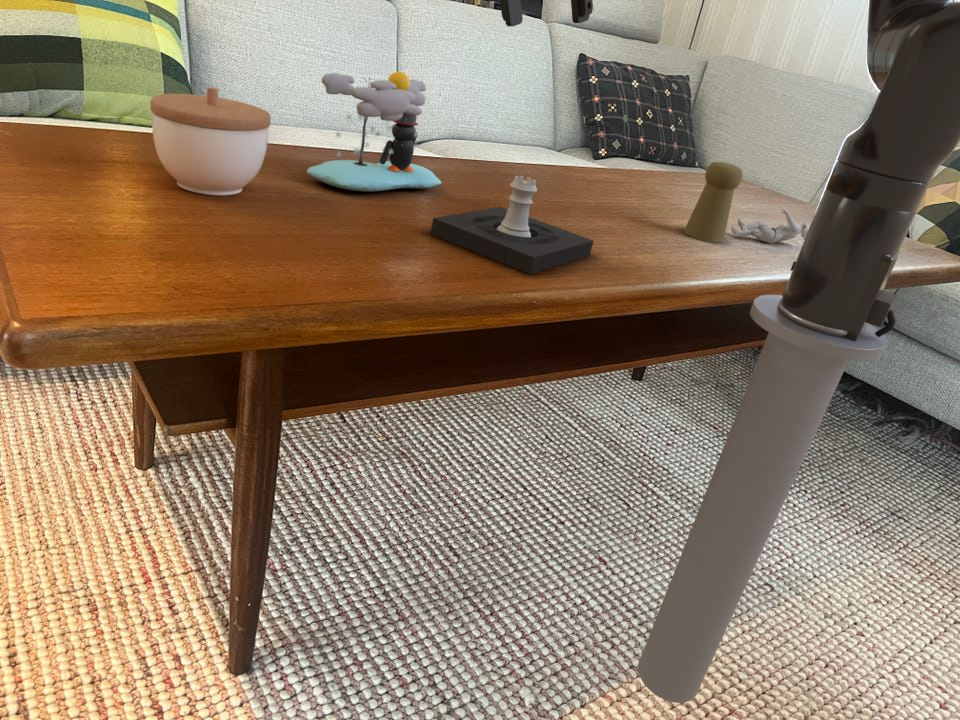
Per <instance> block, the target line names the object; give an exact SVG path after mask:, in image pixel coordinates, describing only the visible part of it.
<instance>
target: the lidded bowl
mask: <svg viewBox="0 0 960 720" xmlns="http://www.w3.org/2000/svg"><path fill="white" fill-rule="evenodd" d="M149 102H150V103H149V104H150V105H149V106H150V111H151V129H152V138H153V144H154V147H155V152H156V154H157V156H158V159H159V161H160V163H161V165H162V167H163V168H164V169H165V171H166V172H167V173H168V174H169V175H170V176H171V177H172V178H173V179H174V180H175V181H176V185H177V186H178V187H179V188H181V189H183V190H185V191H189V192H192V193H195V194H196V193H197V194H202V195H209V196H233V195H238V194H240V193H242V192H243V188H244V187H245V186H247V185H248V184H250V183H251V182H252V181H253V180H254V179H255V178H256V176H257V175H258V174H259V173H260V171H261V169H262V168H263V167H262V166H263V164H264V161H265V158H266V155H267V149H268V143H269V133H270V132H269V130H270V127H271V119H272V116H271V114H270V112H268V111H266V110H265V109H263V108H261V107H258V106H256V105H253V104H249V103H245V102H241V101H237V100H233V99H228V98H223V97H219V88H218V87H213V86H206V95H203V94H202V95H201V94H190V93H162V94H157V95H153V96H152V97H151V98H150V100H149Z"/></svg>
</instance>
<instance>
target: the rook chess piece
mask: <svg viewBox="0 0 960 720" xmlns="http://www.w3.org/2000/svg"><path fill="white" fill-rule="evenodd" d="M524 179H525V177H524V176H523V175H519V176H518V175H516V176H514V177H513V180H512V182H511V183H509V188H510V189H511V195H510V196H509V197H508V200H509V203H508V208H507V209H508V211H507V213H506V216H505V218H504V220H503V221H502V222H501V225H500V226H499V227H497V230H498V231H501V232H503V233H506V234H510V235H514V236H519V237H531V233H530V232H529V227H528V217H530V216H529V215H530V208H531V205H532V204H533V200H532V198H533V196H534V195H535V194H536V193H537V192H538V188H537V185H536V182H537V180H536V179H532V178H531V177H526V180H524Z"/></svg>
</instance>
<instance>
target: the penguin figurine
mask: <svg viewBox="0 0 960 720" xmlns="http://www.w3.org/2000/svg"><path fill="white" fill-rule="evenodd" d="M369 73H371V71H370V72H369ZM361 79H363V77H361ZM368 80H369V81H368V82H367V80H366V79H364V81H365V82H367V84H368V85H369V86H367V87H365V86H364V87H362V86H359V87H354V86H353V85H354V83H355V78H354V77H353V76H352V75H349V74H340V73H338V72H337V73H336V72H335V73H334V72H333V73H332V72H330V73H326V74H324V75H323V76H322V78H321V83H322V84H323V86H324V87H325V93H326V94H328V95H343V96H351V97H353V98H355V99H357V100H359V102H358V103H357V104H356V114H357V115H358V117H357V119H358V120H363V126H362V132H361V133H362V134H361V133H360V132H358V134H359V135H361V143H360V148H359V146H357V147H353V150H352V153H354V155H359V160H357V159H356V160H355V159H354V160H353V159H340V157H343V156H342V154H343V152H341V150H338V152H336V155H335V157H337V158H339V159H336V160H335V159H334V160H328V161H325V162H321V163H320V164H317V165H313V166H310V167H308V168H307V169H306V172H307V174H308V176H310V177H311V178H313V179H316V180H317V181H320V182H322V183H324V184H326V185H328V186H331V187H335V188H338V189H342V190H347V191H353V192H364V193H365V192H371V193H372V192H383V191H390V190H391V191H392V190H398V189H421V190H422V189H430V188H433V187H437V186H440V185H441V184H442V181H441V180H440V179H439V177H437V176H436V175H435V174H434V172H433V171H431V170H430V169H428V168H426V167H424V166H421V165H418V164H416V163H412V162H413V159H414V158H413V157H414V152H415V150H416V148H418V147H419V144H417V143H416V141H417V138H418V137H419V133H418V131H417V130H416V127H415V126H419V124H418V123H417V117H418V116H419V115H421V114H422V113H423V110H422V109H421V106H425V104H426V100H427V98H426V95H425V94H424V93H423V92H425V91H426V90H427V86H426V83H425V82H424V81H422V80H417V79H410V78H409V76H408V75H407V74H406V73H404V72H402V71H395V72H393V73H391V74H390V75H389V76H388V79H381V80H377V79H375V80H374V81H371V78H368ZM370 81H371V82H370ZM352 84H353V85H352ZM345 116H346V120H347V121H350V120H353V118H352V114H351V113H350V112H349V113H348V114H345ZM379 117H380V120H381V121H385V122H386V123H387V124H388V123H390V122H393V123H392V124H388V125H387V128H385V131H387V132H391V134H392V137H393V138H394V139H393V140H387V141H386V142H385V145H384V146H383V147H381V149H382V154H381V156H380V158H379V162H377V163H374V162H370V161H369V162H368V161H364V151H365V148H369V146H370V145H371V143H370V142H369V141H366V139H367V138H369V136H368V134H369V133H367V132H366V128H367V122H368V119H369V118H379ZM370 132H371V134H372V133H373V132H375V137H376V138H378V137H381V135H380V134H381V132H380V131H379V130H377V132H376V126H375V125H373V124H372V126H370ZM341 135H342V133H341V132H340V131H338V132H337V131H336V132H335V138H336V137H337V140H339V138H342V136H341ZM414 149H415V150H414ZM388 158H389V159H388Z"/></svg>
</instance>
